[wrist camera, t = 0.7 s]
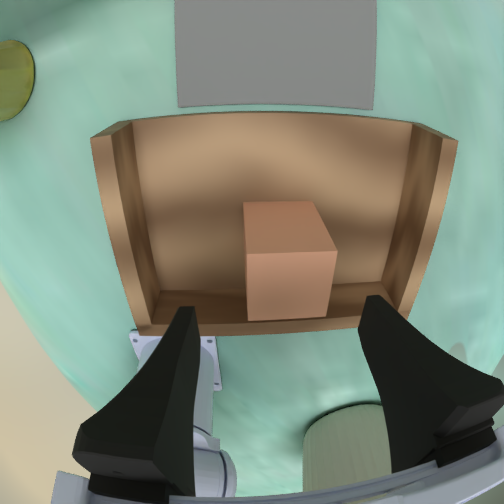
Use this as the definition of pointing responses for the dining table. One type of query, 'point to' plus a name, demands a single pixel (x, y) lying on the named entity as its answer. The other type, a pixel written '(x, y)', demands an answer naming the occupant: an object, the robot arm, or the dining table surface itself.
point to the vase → (14, 78)
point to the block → (286, 260)
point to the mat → (276, 52)
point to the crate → (267, 190)
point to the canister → (346, 449)
